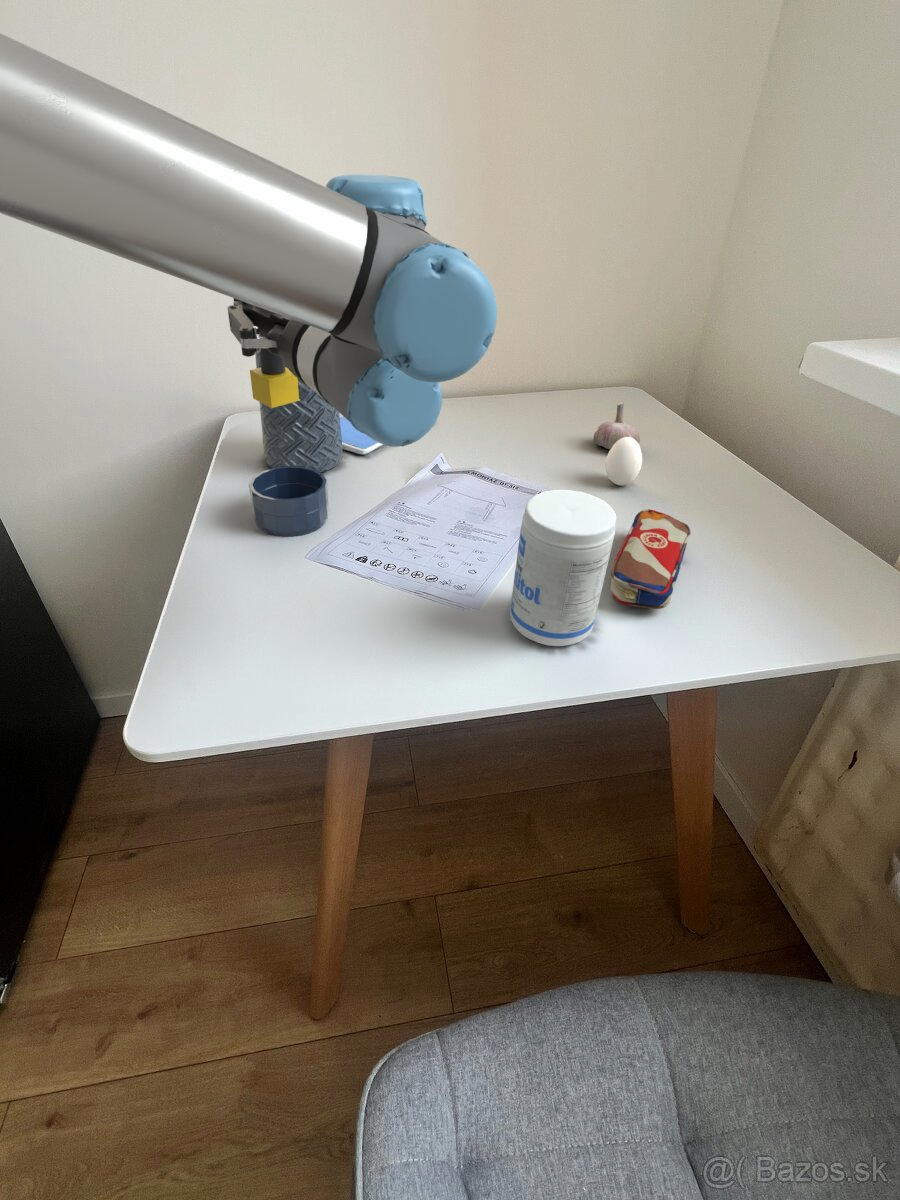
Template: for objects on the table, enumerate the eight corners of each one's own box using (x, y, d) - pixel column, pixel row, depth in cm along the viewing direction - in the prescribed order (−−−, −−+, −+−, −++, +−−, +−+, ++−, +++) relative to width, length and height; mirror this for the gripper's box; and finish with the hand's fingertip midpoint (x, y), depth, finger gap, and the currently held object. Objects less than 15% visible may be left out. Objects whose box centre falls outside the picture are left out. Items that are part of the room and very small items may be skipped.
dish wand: (252, 398, 85) (235, 255, 75) (280, 391, 87) (267, 251, 78) (271, 408, 83) (256, 262, 73) (299, 400, 85) (288, 258, 76)
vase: (346, 474, 107) (335, 276, 91) (265, 478, 105) (239, 276, 88) (339, 442, 117) (329, 257, 100) (265, 445, 115) (241, 257, 98)
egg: (626, 474, 111) (635, 429, 107) (643, 490, 107) (653, 443, 102) (596, 478, 110) (604, 432, 105) (612, 493, 106) (621, 446, 101)
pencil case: (716, 557, 92) (726, 524, 89) (653, 627, 79) (663, 592, 76) (639, 529, 97) (647, 497, 94) (569, 590, 85) (575, 556, 82)
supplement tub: (492, 613, 80) (503, 500, 72) (555, 589, 85) (573, 480, 76) (546, 661, 74) (565, 543, 65) (611, 633, 78) (637, 518, 70)
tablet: (364, 458, 112) (364, 450, 112) (307, 437, 118) (306, 430, 117) (433, 422, 125) (434, 415, 125) (379, 405, 131) (378, 398, 130)
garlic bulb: (584, 443, 120) (591, 398, 116) (616, 436, 123) (625, 392, 119) (612, 460, 115) (621, 414, 110) (645, 453, 118) (656, 407, 113)
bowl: (240, 517, 96) (234, 481, 92) (300, 494, 102) (296, 459, 98) (283, 545, 90) (278, 508, 87) (343, 519, 96) (341, 483, 93)
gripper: (255, 406, 65) (188, 338, 81) (404, 382, 73) (316, 324, 88) (245, 322, 61) (176, 268, 77) (404, 306, 68) (311, 259, 84)
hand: (251, 298), depth 83 cm, fingers closed on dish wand, 3 cm apart
